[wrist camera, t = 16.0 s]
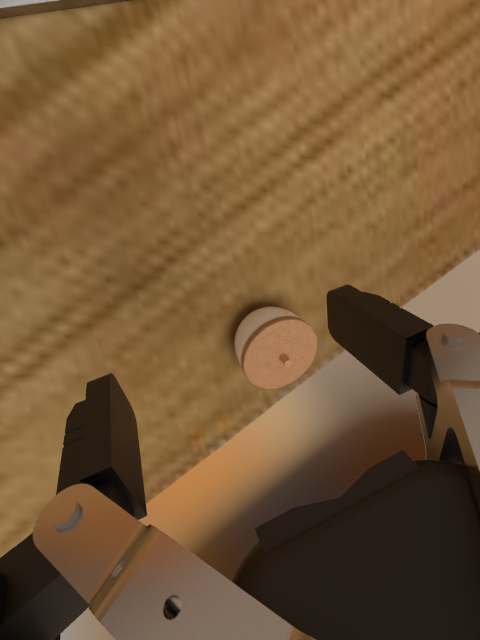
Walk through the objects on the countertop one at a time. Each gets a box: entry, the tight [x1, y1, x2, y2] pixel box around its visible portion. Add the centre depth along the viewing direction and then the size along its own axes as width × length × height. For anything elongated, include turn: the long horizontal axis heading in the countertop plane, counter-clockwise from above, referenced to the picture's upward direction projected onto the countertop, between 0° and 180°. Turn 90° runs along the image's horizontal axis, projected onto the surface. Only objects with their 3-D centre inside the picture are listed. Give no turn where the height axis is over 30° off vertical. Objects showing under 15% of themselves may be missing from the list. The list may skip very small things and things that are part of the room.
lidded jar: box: [234, 306, 317, 389], centre depth 43 cm, size 11×11×9 cm
